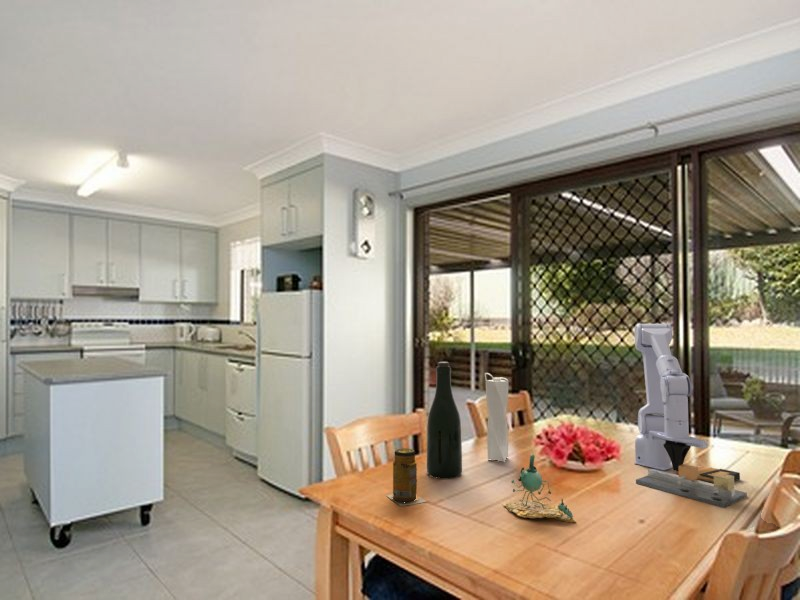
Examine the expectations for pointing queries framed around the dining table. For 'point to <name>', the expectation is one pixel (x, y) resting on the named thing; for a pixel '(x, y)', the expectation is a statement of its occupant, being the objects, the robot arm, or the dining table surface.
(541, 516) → the green creature figurine
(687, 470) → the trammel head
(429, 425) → the dark green wine bottle
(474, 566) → the dining table surface
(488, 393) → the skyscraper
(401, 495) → the condiment
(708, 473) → the ammunition clip
